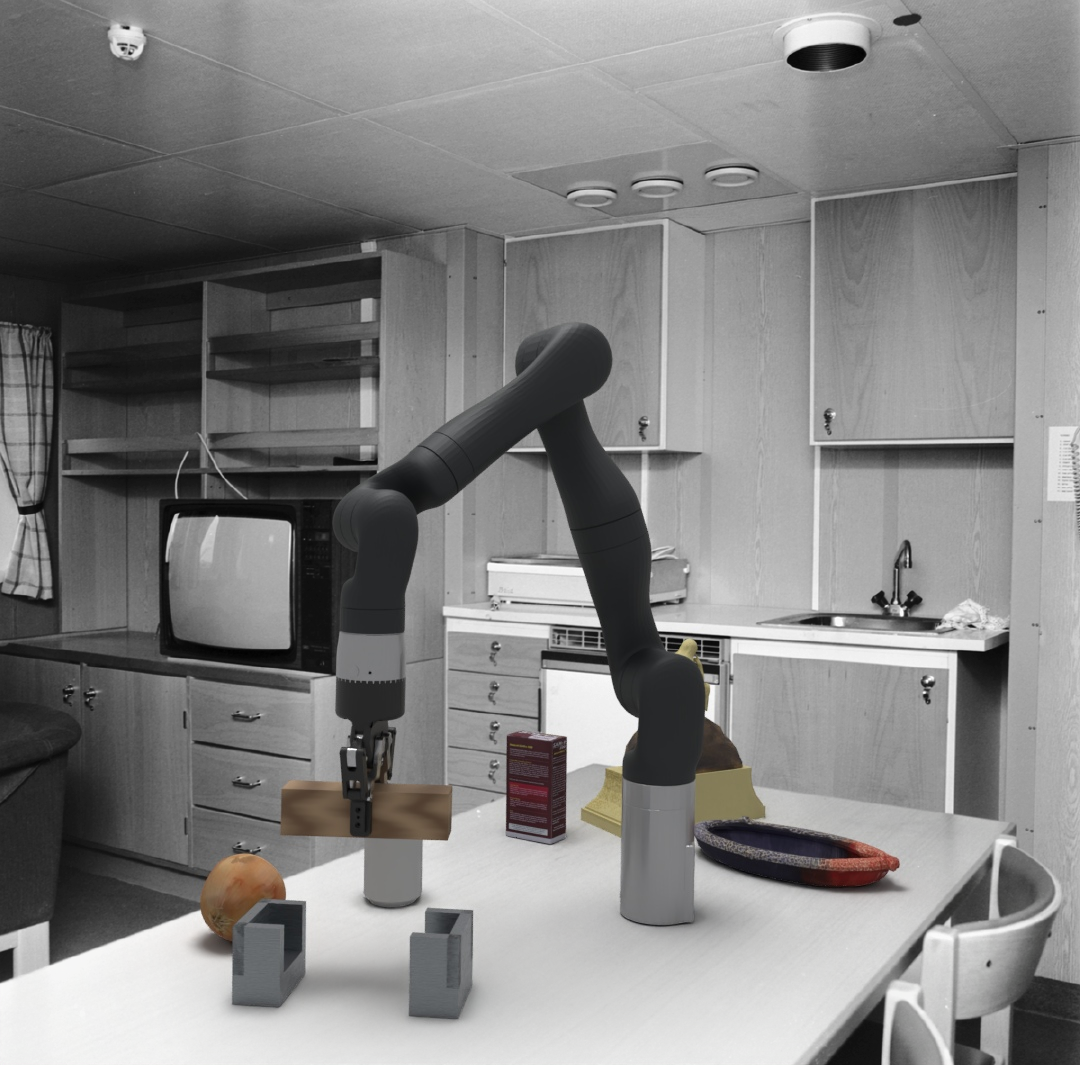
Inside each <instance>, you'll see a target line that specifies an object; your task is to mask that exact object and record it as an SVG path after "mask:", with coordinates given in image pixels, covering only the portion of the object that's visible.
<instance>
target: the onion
mask: <svg viewBox="0 0 1080 1065" xmlns="http://www.w3.org/2000/svg"><path fill="white" fill-rule="evenodd" d="M286 890H287V889H286V885H285V882H284V879H283V877H282V876H281V874H280V872H279V870H278V869H277V868H276V867H275V866H274V865H272V864H271V863H270V862H269V861H268V860H266V858H265V859H264V858H263V857H261V856H258V855H255V854H252V853H238V854H234V855H229V856H226V857H224V858H222V859H220V860H219V861H218V862H217V864H215V866H214V867H213V868H212V870H211V871H210V873H209V874H208V876H207V878H206V880H205V882H204V884H203V887H202V890H201V894H200V906H199V907H200V913H201V916H202V919H203V921H204V923H205V925H207V927H208V928H209V929H210V930H211V931H213V933H215V934H216V935H217V936H218V937H220V938H222V939H225V940H226V941H229V942H233V926H234V925H235V924H236V923H237V922H238V921H239V920H240V919H241V918H242V917H243V916H244V915H245V914H246V913H247V912H248V911H249V910H250V909H251V908H252V907H253V906H254V905H255V904H257V903H258V902H259V901H260V900H261V899H278V900H287V891H286Z"/></svg>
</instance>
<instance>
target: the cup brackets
mask: <svg viewBox="0 0 1080 1065" xmlns="http://www.w3.org/2000/svg"><path fill="white" fill-rule="evenodd" d="M306 930H307V900H294V899H293V900H292V899H291V900H290V899H286V900H278V899H261V900H260V901H259V902H258V903H257V904H255V905H254V906H253V907H252V908H251V909H250V910H249V911H248V912H247V913H246V914H245V915H244V916H243V917H242V918H241V919H240V920H239V921H238V922H237V923H236V924H235V925H234V926H233V941H232V950H231V951H232V952H231V954H232V955H231V956H232V959H231V962H232V965H231V968H232V971H231V974H232V976H231V977H232V979H231V990H232V991H231V1005H242V1006H243V1005H244V1006H256V1007H257V1006H258V1007H271V1008H272V1007H273V1008H274V1007H275V1008H280V1007H281V1006H282V1005H283V1003H284V1002H285V1000H287V998H288V997H289V996H290V994H291V993H292V991H293V990H294V989H295V988H296V987H297V986H298V984H299V983H300V981H301V980H302V979H303V977H305V975H306V957H307V956H306V953H307V952H306V947H307V946H306V943H307V942H306V940H307V937H306V936H307V933H306V932H307V931H306ZM473 952H474V909H462V908H461V909H460V908H459V909H457V908H440V907H439V908H437V907H427V908H426V909H425V911H424V932H419V931H417V932H416V931H412V932H411V933H410V935H409V970H408V971H409V972H408V974H409V975H408V976H409V979H408V982H409V983H408V984H409V986H408V987H409V989H408V1016H412V1017H422V1018H423V1017H426V1018H441V1019H442V1018H443V1019H455V1020H456V1019H459V1018H460V1015H461V1012H462V1010H463V1008H464V1006H465V1003H466V1002H467V998H468V996H469V994H470V991H471V988H472V986H473V970H474V969H473V966H474V965H473V964H474V963H473V962H474V961H473V959H474V953H473Z"/></svg>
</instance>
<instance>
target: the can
mask: <svg viewBox="0 0 1080 1065" xmlns="http://www.w3.org/2000/svg"><path fill="white" fill-rule="evenodd" d="M363 839H364V841H363V842H364V845H363V851H364V852H363V855H364V856H363V857H364V858H363V860H364V861H363V894H364V897H365V898H366V899H368V900H369V901H370V902H369V903H371V904H373V905H374V906H378V907H383V908H384V907H385V908H399V907H404V906H408V905H411V904H413V903H414V902H415V901H416V900H417V899H418V898H420V896H422V893H423V852H424V850H423V847H424V843H423V842H424V840H412V839H382V838H363Z"/></svg>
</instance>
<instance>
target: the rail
mask: <svg viewBox="0 0 1080 1065" xmlns="http://www.w3.org/2000/svg"><path fill="white" fill-rule="evenodd" d="M356 788H360V782H359V781H357V783H356ZM280 790H281V793H280V794H281V796H280V797H281V798H280V832H279V833H280V835H279V836H292V837H294V836H296V837H297V836H298V837H324V838H325V837H326V838H354V839H355V838H357V839H358V838H359V839H364V838H382V839H412V840H423V841H446V842H447V841H449V838H450V835H451V832H452V821H453V820H452V817H453V816H452V814H453V813H452V812H453V785H452V784H447V785H446V784H425V783H424V784H423V783H422V784H420V783H419V784H418V783H417V784H416V783H394V782H393V783H390V782H388V783H374V791H373V799H372V832H371V834H370V835H369V836H368V837H356V836H352V835H351V834H350V803H351V801H348V799H343V794H342V793H343V791H342V781H331V780H330V781H327V780H326V781H325V780H320V781H319V780H297V779H296V780H295V779H294V780H292V779H291V780H289V781H288V782H287V783H286V784H285V785H284V786H283V787H282V788H281V789H280Z"/></svg>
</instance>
